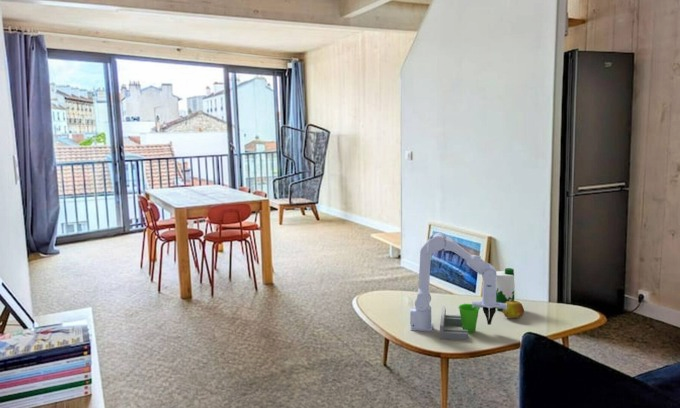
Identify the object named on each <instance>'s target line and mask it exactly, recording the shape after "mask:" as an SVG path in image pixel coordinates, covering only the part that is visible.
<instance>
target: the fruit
mask: <svg viewBox="0 0 680 408" xmlns="http://www.w3.org/2000/svg"><path fill="white" fill-rule="evenodd" d="M505 303H507V309H503V311H502V313H503V315H504V317H506V318H508V319H519V318H520V319H521V318H522V316H523V315H524V314H525V310H524V309H525V308H524V306H523V303H521V302H520V301H519V300H514V301H507V302H505Z"/></svg>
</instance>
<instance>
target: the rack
mask: <svg viewBox="0 0 680 408" xmlns="http://www.w3.org/2000/svg"><path fill="white" fill-rule="evenodd" d="M447 325H448V326H462V321H461V316H460V314H459V315H457V314H456V315H454V314H452V315H451V314H446V306H442V309H441V317H440V324H439V340H448V341H450V340H451V341H463V342H464V341H466V342H468V341H469V333H468V330H463V328H462V329H459V328H446V326H447Z"/></svg>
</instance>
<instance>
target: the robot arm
mask: <svg viewBox="0 0 680 408" xmlns="http://www.w3.org/2000/svg"><path fill="white" fill-rule="evenodd" d="M442 250H444V251H445V252H446V251H451V252H452V253H455V254H456V255H458V256H459V257H460V258H462V260H463V259H464V260H465V261H466V265H467V266H468V267H470V269H472V270H474V271H475V272H476V273H477V274H479V275H481V276H482V277H481V278H482V280H483V281H482V284H481V286H482V288H481V289H482V291H481V292H482V293H481V294H482V297H481V300H482V301H472V302H471V304H472V308H474V307H479V308H482V311H483V313H484V316H485V318H486V322H487V325H488V326H490V325H492V321H493V318H494V316H495V314H496V312H497V310H496V309H497V308H503V309H507V303H499V302H496V277H497V275H496V271H497V269H496V267H494V265H493V264H491V263H489V262H486V261H485V260H483V259H482V258H481V255H477V254H472V253H471V254H470V253H469V251H467V250H466V249H465V248H463V247H462V246H461V245H459V244H458V243H457V242H456V241H455V240H453V239H452V238H451V237H450V236H448V235H446V234H445V233H443V232H439V231H438V232H435V233H434V234H432V235H430V237H429V238H428V239H427V241H426V242H425V243H424V244H423V246H422V247H421V248H420V251H419V253H420V254H419V270H418V289H417V296H416V299H415V302H414V307H411V308H410V317H409V323H410V328H409V329H410V331H419V332H420V331H421V332H422V331H423V332H432V331H433V326H434V323H432V306H431V305H430V302H431V301H432V297H431V293H430V277H431V276H430V275H431V260H432V259H431V258H432V255H433V254H434V253H436V252H439V251H442Z"/></svg>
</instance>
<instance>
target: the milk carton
mask: <svg viewBox="0 0 680 408" xmlns="http://www.w3.org/2000/svg"><path fill="white" fill-rule="evenodd" d="M496 275H497V277H496V302H499V303H505V302H507V301H515V269H514V268H510V267H506V268H505V269H504V270H501V271H500V270H496ZM496 309H497V310H496V312H497V311H499V312H503V308H496Z"/></svg>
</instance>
